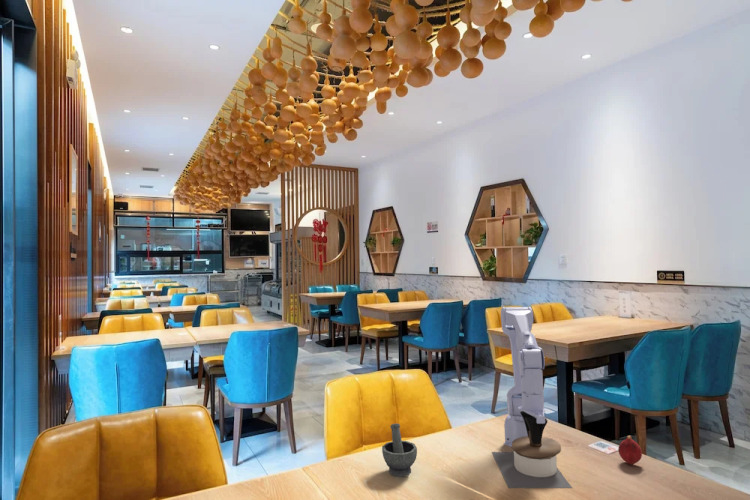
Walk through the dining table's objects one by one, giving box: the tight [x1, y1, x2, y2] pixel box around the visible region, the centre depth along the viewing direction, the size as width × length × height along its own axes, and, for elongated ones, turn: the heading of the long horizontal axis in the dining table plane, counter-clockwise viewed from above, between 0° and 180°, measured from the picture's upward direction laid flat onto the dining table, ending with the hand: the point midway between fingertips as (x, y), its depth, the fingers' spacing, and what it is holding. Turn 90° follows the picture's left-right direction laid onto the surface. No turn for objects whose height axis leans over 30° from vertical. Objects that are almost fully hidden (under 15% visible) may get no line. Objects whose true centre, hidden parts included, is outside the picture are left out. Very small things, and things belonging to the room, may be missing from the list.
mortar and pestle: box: [381, 423, 418, 478], centre depth 127 cm, size 11×9×12 cm
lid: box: [511, 431, 562, 458], centre depth 126 cm, size 13×13×4 cm
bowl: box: [513, 450, 558, 478], centre depth 126 cm, size 11×11×5 cm
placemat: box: [491, 451, 573, 489], centre depth 126 cm, size 16×22×1 cm
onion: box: [618, 435, 643, 466], centre depth 127 cm, size 6×6×8 cm
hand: (534, 440), depth 126 cm, fingers closed on lid, 3 cm apart
